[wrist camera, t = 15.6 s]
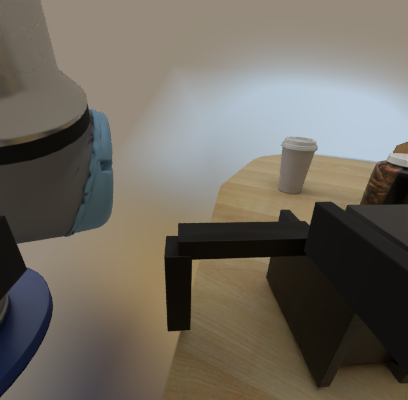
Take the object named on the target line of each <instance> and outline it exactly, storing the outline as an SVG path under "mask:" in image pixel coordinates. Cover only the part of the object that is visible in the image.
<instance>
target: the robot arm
mask: <svg viewBox="0 0 408 400" xmlns="http://www.w3.org/2000/svg"><path fill="white" fill-rule="evenodd" d="M111 166H112V143H111V134H110V128H109V123H108V119H107V117H106V115H105V114H104V113H102V112H97V111H96V110H93V109H90V110H89V109H88V104H87V98H86V94H85V93H84V91H83V89H82V88H81V87H80V86H79V85H78V84H77V83H76V82H74V81H73V80H71V79H70V78H69V77H68V76H67V75H65V74H64V73H63V72H62V71H60V70H59V69H58V67H57V64H56V60H55V57H54V53H53V48H52V44H51V41H50V37H49V33H48V29H47V25H46V21H45V17H44V13H43V9H42V5H41V1H40V0H0V331H1V330H2V328H3V327H4V325H5V323H6V321H7V319H8V316H9V313H10V308H11V300H10V297H9V295H8V293H7V292H8V291H9V290H10V289H11V288H12V287H13V285H14V284H15V283H16V282H17V281H18V280H19V279H20V277H21V276H22V275H23V274H24V273H25V272H26V271H27V268H26V266H25V263H24V261H23V258H22V256H21V253H20V251H19V248H18V246H17V244H18V243H24V242H30V241H37V240H42V239H49V238H55V237H62V236H65V237H67V236H71V235H73V234H74V233H77V232H81V231H86V230H90V229H95V228H98V227H101V226H102V225H104V224H105V223H106V222H107V221H108V219H109V217H110V215H111V211H112V204H113V170H112V167H111ZM304 252H305V253H306V254H307V255H308V257H309V258H310V259H311V260H312V261H313V263H314V264H315V265H316V266H317V267H318V269H319V270H320V271H321V272H322V273H323V275H324V276H325V277H326V278H327V279H328V281H329V282H330V283H331V284H332V285H333V286H334V288H335V289H336V290H337V291H338V292H339V294H340V295H341V296H342V297H343V298H344V300H345V301H346V302H347V303H348V304H349V306H350V307H351V308H352V309H353V310H354V312H355V313H356V314H357V315H358V316H359V317H360V319H361V320H362V321H363V322H364V323H365V325H366V326H367V327H368V328H369V329H370V331H371V332H372V333H373V334H374V335H375V337H376V338H377V339H378V340H379V341H380V343H381V344H382V345H383V346H384V347H385V349H386V350H387V351H388V352H389V353H390V354H391V356H392V357H393V358H394V359H395V360H396V362H397V363H398V364H399V365H400V366H401V368H402V369H403V370H404V371H405V372H406V374H407V375H408V252H406V251H405V250H403V249H402V248H400V247H399V246H397V245H396V244H394V243H393V242H391V241H390V240H388V239H387V238H385V237H384V236H382V235H381V234H379V233H378V232H376V231H375V230H373V229H372V228H370V227H369V226H367V225H366V224H364V223H363V222H361V221H359V220H358V219H356V218H355V217H353V216H352V215H350V214H349V213H347V212H346V211H344V210H343V209H341V208H340V207H338V206H337V205H335V204H334V203H332V202H315V207H314V211H313V215H312V219H311V224H310V228H309V232H308V236H307V241H306V245H305V249H304Z"/></svg>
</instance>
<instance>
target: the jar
mask: <svg viewBox="0 0 408 400" xmlns="http://www.w3.org/2000/svg"><path fill="white" fill-rule="evenodd" d="M360 205H408V154H403V153H391V154H389V156H388V159H387V161H380V162H378V163H377V164H376V166H375V168H374V170H373V172H372V174H371V177H370V179H369V182H368V184H367V187H366V189H365V192H364V194H363V197H362V200H361V202H360Z"/></svg>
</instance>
